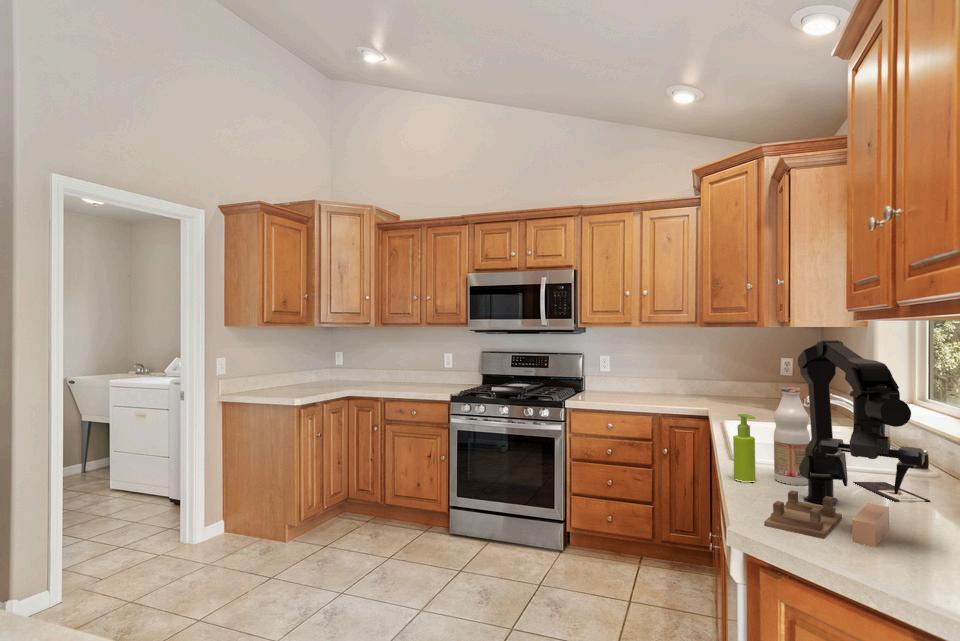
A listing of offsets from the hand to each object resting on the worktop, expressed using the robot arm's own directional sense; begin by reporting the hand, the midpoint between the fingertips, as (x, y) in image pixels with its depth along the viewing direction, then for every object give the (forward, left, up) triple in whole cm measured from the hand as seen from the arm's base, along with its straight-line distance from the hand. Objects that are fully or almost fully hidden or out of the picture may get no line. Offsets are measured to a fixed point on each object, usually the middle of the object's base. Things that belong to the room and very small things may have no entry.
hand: (870, 489), depth 122 cm
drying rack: (+1, -13, -10) cm, 16 cm away
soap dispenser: (-27, -35, -10) cm, 46 cm away
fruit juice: (-36, -25, -10) cm, 45 cm away
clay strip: (0, 0, -10) cm, 10 cm away
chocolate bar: (-42, -2, -10) cm, 43 cm away
